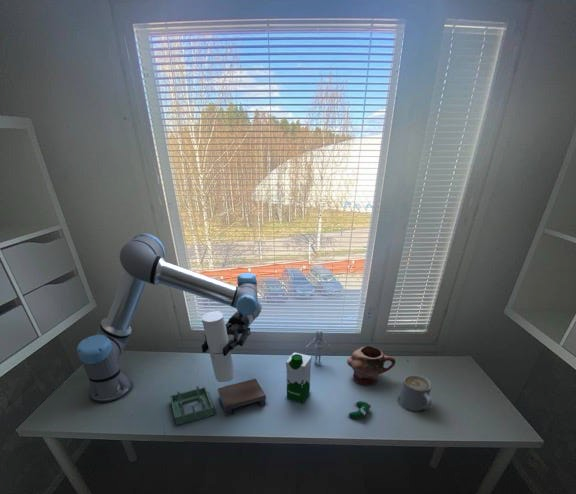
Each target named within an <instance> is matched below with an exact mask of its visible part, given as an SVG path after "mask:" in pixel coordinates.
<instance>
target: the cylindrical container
mask: <svg viewBox="0 0 576 494" xmlns="http://www.w3.org/2000/svg"><path fill="white" fill-rule="evenodd" d="M224 315H225V314H224V313H223V312H222V311H218V310H213V311H209V312H205V313H204V314H203V315H202V316H201V322H202V327H203V330H204V336H205V335H206V339H207V344H208V348H209V349H208V352H209V356H210V360H211V361H210V362H211V365H212V370H213V374H214V377H215V380H216V381H217V382H219V383H228V382H231V381H232V380H234V378H235V377H236V375H235V369H234V363H233V357H232V353H231V350H230V351H229V353H228V354H227V355H226V356H224V355H223V348H224V347H225V346H226V345H227V343H228V342H229V341H230V340H229V337H228V336H229V335H227V331H226V325H225V324H226V320H225V316H224ZM206 339H205V340H206Z"/></svg>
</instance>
